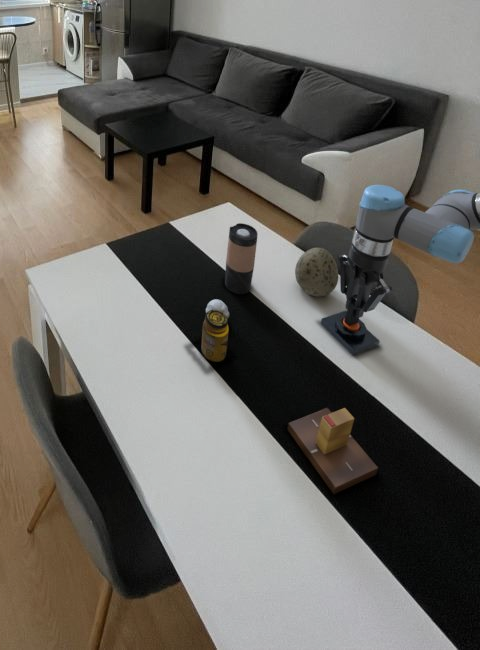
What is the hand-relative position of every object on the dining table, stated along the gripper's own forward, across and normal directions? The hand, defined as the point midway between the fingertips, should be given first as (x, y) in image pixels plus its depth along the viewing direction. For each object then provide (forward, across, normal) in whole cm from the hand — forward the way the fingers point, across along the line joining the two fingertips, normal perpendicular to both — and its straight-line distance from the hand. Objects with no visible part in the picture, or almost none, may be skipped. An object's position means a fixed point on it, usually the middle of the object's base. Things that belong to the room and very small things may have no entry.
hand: (351, 322), depth 108 cm
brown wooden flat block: (+5, +20, -26) cm, 33 cm away
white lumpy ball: (+5, -15, -29) cm, 33 cm away
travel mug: (+5, -24, -16) cm, 29 cm away
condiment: (+5, -7, -36) cm, 37 cm away
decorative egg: (+5, -15, +3) cm, 16 cm away
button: (+2, 0, 0) cm, 2 cm away
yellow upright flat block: (+2, +20, -26) cm, 33 cm away
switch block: (+5, 0, 0) cm, 5 cm away
